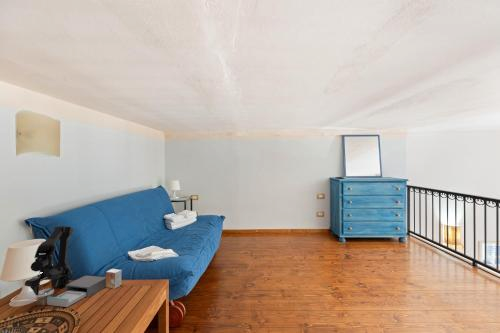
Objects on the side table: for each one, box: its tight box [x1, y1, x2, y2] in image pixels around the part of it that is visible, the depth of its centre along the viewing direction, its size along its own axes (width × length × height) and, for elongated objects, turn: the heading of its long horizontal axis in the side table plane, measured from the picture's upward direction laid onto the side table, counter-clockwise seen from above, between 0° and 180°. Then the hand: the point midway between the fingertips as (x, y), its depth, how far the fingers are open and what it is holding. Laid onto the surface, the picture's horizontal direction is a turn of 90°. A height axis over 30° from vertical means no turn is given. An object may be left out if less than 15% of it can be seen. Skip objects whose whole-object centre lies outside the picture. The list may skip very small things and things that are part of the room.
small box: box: [105, 268, 123, 290], centre depth 161 cm, size 8×6×10 cm
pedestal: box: [36, 293, 54, 306], centre depth 140 cm, size 5×5×5 cm
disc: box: [35, 287, 55, 298], centre depth 140 cm, size 8×8×2 cm
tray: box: [46, 290, 87, 308], centre depth 143 cm, size 14×14×4 cm
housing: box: [65, 275, 107, 298], centre depth 156 cm, size 17×14×6 cm
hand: (45, 291), depth 141 cm, fingers open, 9 cm apart
